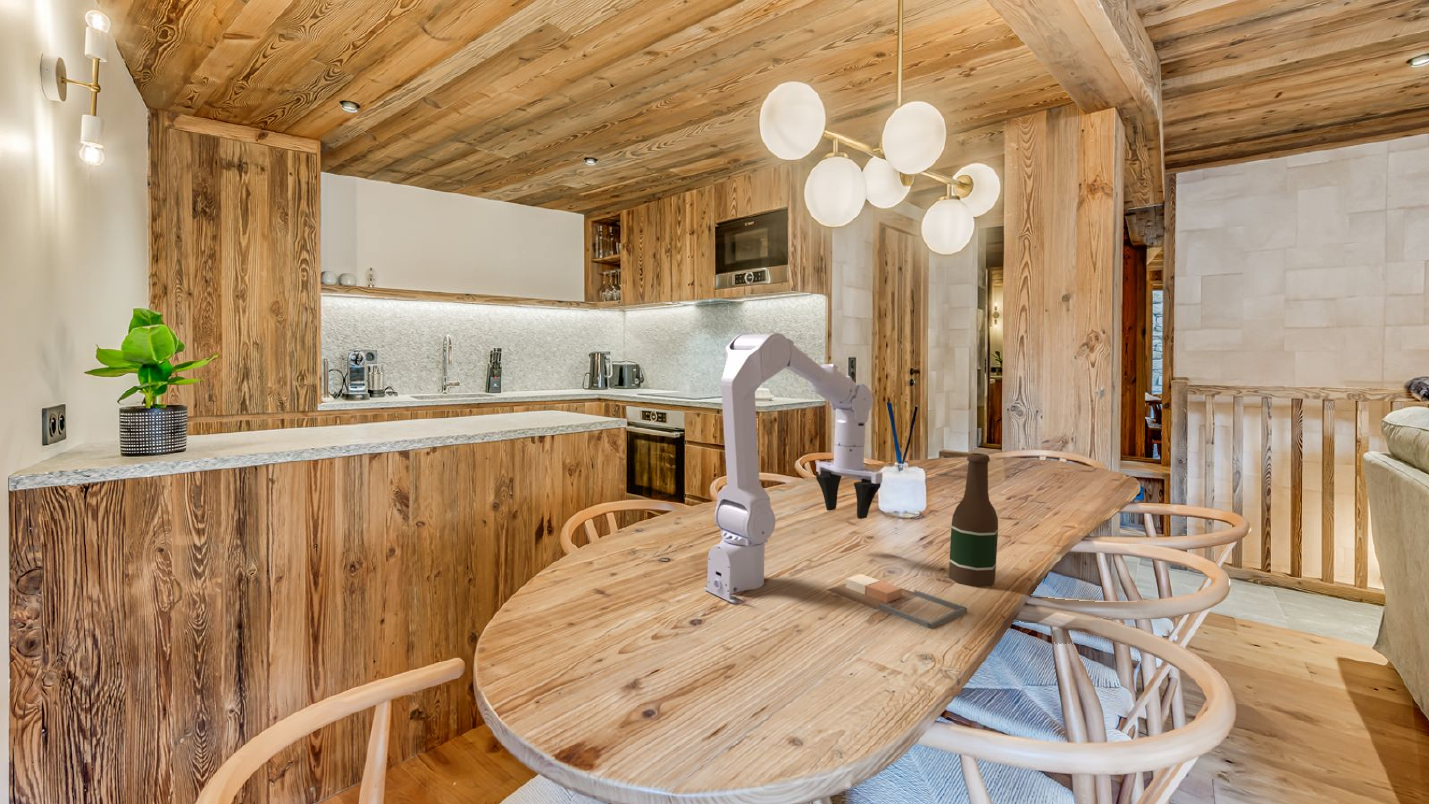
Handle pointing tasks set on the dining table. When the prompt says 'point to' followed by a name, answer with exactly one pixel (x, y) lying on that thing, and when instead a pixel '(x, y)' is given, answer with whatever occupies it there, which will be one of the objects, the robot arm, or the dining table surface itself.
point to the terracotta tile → (884, 591)
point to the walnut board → (865, 596)
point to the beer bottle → (974, 530)
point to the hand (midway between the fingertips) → (846, 513)
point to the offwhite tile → (860, 583)
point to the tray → (958, 611)
